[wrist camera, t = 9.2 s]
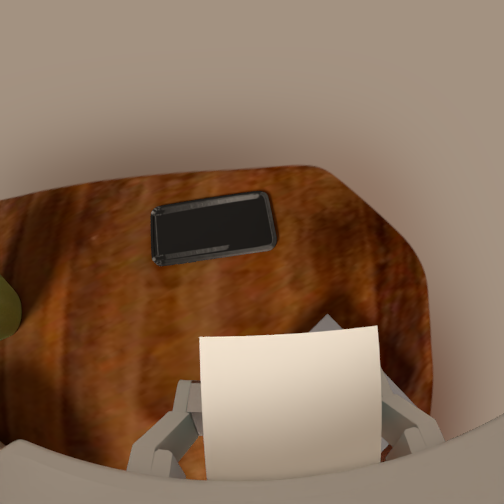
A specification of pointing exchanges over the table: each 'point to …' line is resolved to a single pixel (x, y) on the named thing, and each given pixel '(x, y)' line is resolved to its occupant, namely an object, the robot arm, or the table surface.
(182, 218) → the phone
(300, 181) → the table surface
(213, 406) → the carton
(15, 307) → the flower pot
